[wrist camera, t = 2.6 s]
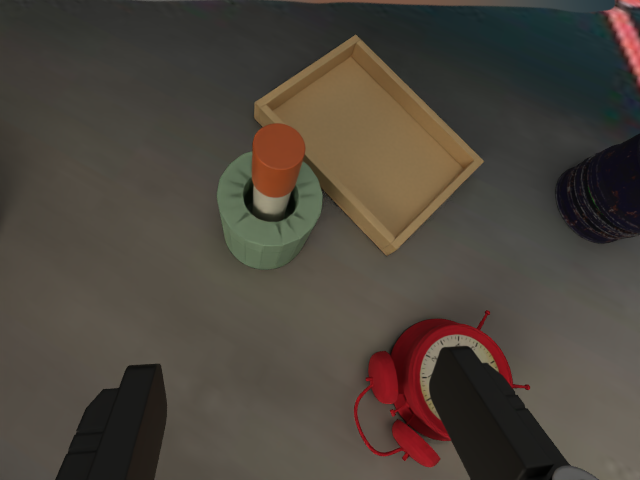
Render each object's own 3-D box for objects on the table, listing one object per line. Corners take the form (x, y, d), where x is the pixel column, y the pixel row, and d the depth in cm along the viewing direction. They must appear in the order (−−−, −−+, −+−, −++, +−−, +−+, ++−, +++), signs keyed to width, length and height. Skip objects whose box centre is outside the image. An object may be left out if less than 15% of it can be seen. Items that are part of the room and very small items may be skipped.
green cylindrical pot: (206, 226, 34) (193, 189, 26) (268, 178, 36) (275, 130, 28) (261, 287, 33) (266, 268, 25) (321, 233, 36) (343, 201, 28)
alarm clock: (548, 402, 31) (431, 519, 24) (491, 400, 37) (381, 495, 29) (487, 291, 33) (361, 369, 26) (441, 305, 38) (325, 372, 31)
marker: (243, 227, 34) (241, 141, 20) (266, 208, 35) (281, 113, 21) (264, 249, 34) (277, 179, 19) (287, 230, 34) (316, 149, 20)
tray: (253, 118, 38) (254, 102, 35) (349, 52, 42) (355, 34, 40) (386, 256, 36) (396, 249, 34) (470, 172, 41) (484, 161, 39)
